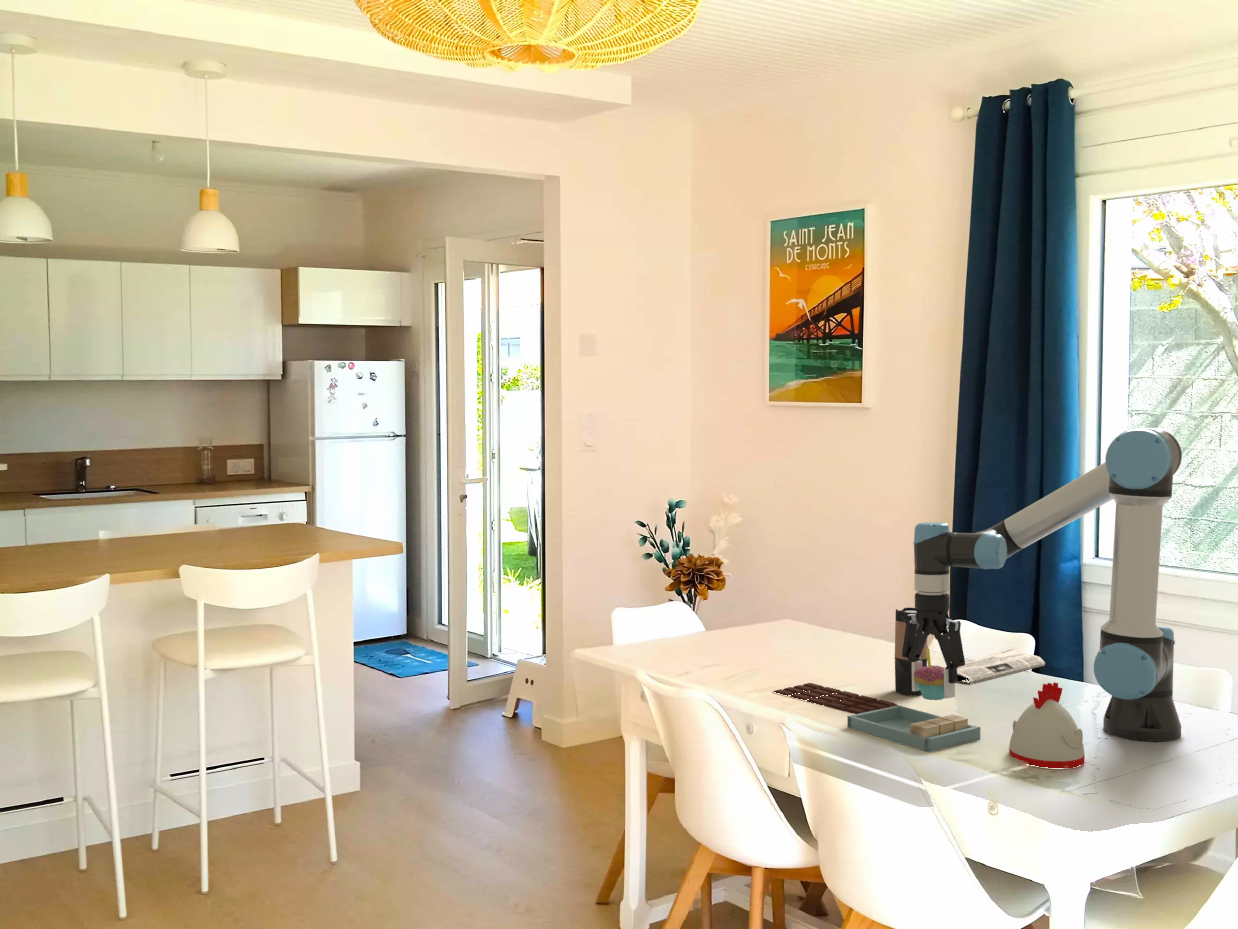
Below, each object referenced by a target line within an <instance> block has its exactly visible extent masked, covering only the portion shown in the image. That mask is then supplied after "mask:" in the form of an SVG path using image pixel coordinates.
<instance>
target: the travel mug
mask: <svg viewBox="0 0 1238 929" xmlns="http://www.w3.org/2000/svg"><path fill="white" fill-rule="evenodd" d="M916 613H917V610H916V609H915V607H903V609H901V610H900V609H899V610H898V609H897V608H896V609H895V624H894V626H895V627H894V631H895V632H894V682H895V683H894V684H895V685H894V687H895V689H894V690H895V693H896V694H900V695H904V696H910V695H912V696H913V695H918V696H922V694H921V691H920V690H919V691H912V675H910V661H909V660H908V659H907V658H906V657H903V656H902V650H903V643H904V636H905V629H906V621H905V616H906V615H909V614H916ZM918 626H919V624H918V622H917V629H918ZM916 635H917V634H916ZM927 646H928V639H927V640H926V642H925V645H924V648H923V650H922V653H921V656H920V658H921V659H920V660H918V661H922V667H923V666H924V667H925V666H928V661H927V652H926V649H927ZM912 696H911V697H912Z"/></svg>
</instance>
